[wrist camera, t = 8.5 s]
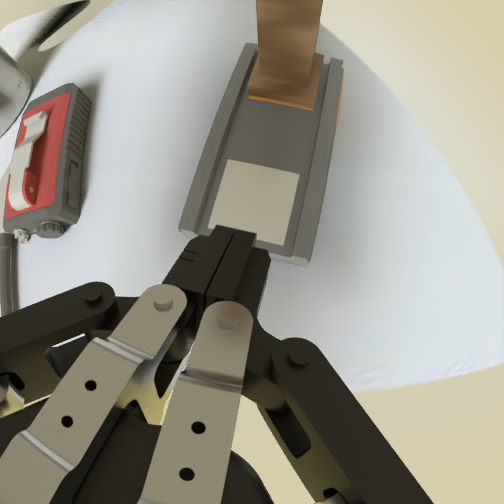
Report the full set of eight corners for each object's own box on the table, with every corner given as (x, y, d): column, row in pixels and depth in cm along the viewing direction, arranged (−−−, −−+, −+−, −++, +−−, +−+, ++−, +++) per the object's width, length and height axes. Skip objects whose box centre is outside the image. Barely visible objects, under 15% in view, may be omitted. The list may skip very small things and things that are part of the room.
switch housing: (188, 238, 18) (174, 227, 15) (245, 67, 20) (243, 42, 17) (306, 267, 17) (314, 260, 14) (339, 86, 19) (347, 61, 16)
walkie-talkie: (27, 119, 21) (12, 334, 18) (1, 98, 17) (-26, 336, 13) (98, 88, 21) (90, 334, 18) (75, 58, 16) (50, 339, 13)
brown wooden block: (248, 95, 17) (233, -47, 7) (263, 53, 17) (258, -72, 7) (313, 107, 16) (342, -35, 6) (322, 64, 17) (344, -61, 7)
